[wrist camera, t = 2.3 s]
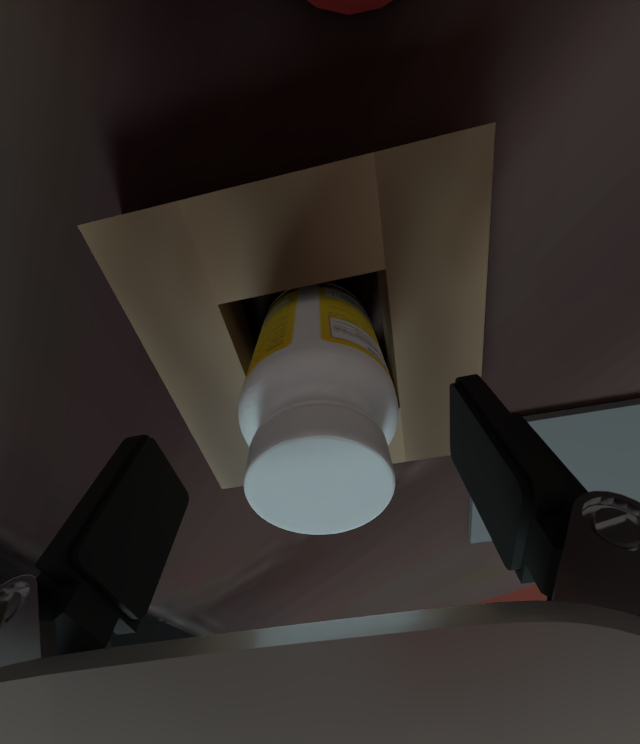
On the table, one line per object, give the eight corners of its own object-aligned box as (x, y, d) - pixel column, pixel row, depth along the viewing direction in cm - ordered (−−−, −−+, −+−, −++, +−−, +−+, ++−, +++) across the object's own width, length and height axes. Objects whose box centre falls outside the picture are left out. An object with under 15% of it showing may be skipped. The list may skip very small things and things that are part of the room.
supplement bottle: (273, 379, 18) (237, 555, 10) (255, 283, 16) (183, 417, 7) (370, 372, 18) (416, 545, 10) (370, 273, 15) (433, 398, 7)
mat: (687, 390, 19) (696, 395, 18) (629, 517, 25) (635, 523, 25) (473, 424, 20) (476, 429, 20) (468, 537, 26) (470, 543, 26)
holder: (459, 131, 12) (495, 121, 10) (456, 414, 20) (477, 450, 17) (121, 215, 14) (77, 225, 11) (233, 450, 21) (222, 488, 19)
